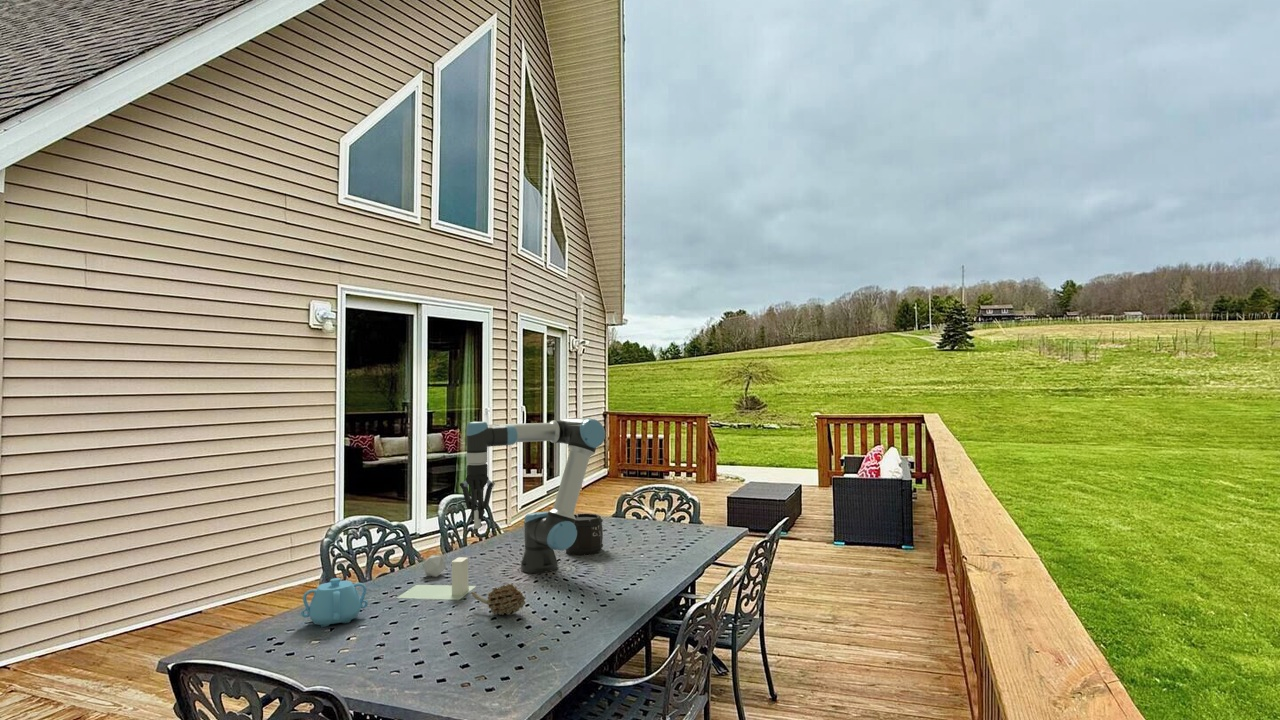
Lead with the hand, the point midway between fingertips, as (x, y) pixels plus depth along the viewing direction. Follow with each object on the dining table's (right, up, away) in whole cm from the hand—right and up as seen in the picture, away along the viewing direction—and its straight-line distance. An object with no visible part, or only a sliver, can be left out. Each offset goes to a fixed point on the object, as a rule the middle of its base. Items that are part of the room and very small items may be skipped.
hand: (477, 527), depth 245 cm
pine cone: (+12, -23, -22) cm, 34 cm away
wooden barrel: (+34, -26, +58) cm, 72 cm away
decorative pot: (-40, -24, -26) cm, 54 cm away
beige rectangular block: (-6, -24, 0) cm, 25 cm away
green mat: (-15, -24, +1) cm, 29 cm away
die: (-23, -26, +24) cm, 42 cm away
